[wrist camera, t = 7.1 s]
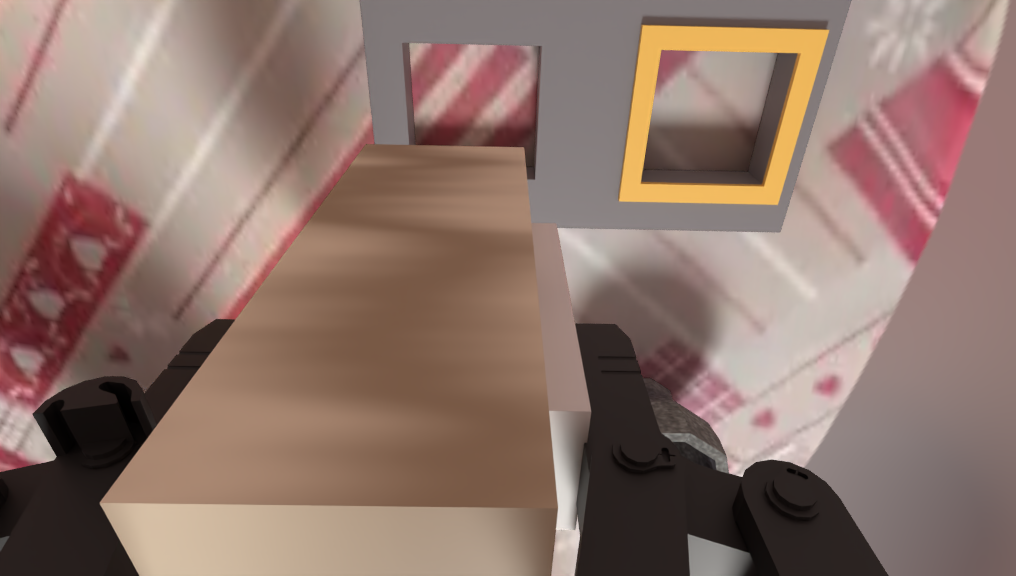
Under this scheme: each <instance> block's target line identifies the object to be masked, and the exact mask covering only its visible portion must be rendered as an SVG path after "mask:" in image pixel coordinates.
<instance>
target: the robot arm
mask: <svg viewBox="0 0 1016 576" xmlns="http://www.w3.org/2000/svg"><path fill="white" fill-rule="evenodd" d="M531 225H532V236H533V246H534V257H535V268H536V278H537V289H538V299H539V310H540V321H541V331H542V342H543V353H544V363H545V374H546V384H547V395H548V406H549V416H550V427H551V438H552V448H553V459H554V469H555V480H556V491H557V501H558V515H557V524H556V530H575V529H576V521H577V514H578V522H579V530H580V541H579V548H578V555H577V562H576V569H575V576H888V574H887V573H886V571H885V569H884V568H883V566H882V565H881V563H880V561H879V560H878V558H877V557H876V555H875V554H874V552H873V550H872V549H871V547H870V546H869V544H868V542H867V541H866V539H865V538H864V536H863V534H862V533H861V531H860V530H859V528H858V527H857V525H856V523H855V522H854V520H853V519H852V517H851V515H850V514H849V512H848V511H847V509H846V507H845V506H844V504H843V503H842V501H841V499H840V498H839V497H838V495H837V494H836V493H835V492H834V491H833V490H832V488H831V487H830V486H829V485H828V484H827V483H826V482H825V481H824V480H822V479H821V478H819V477H818V476H817V475H815V474H814V473H812V472H811V471H809V470H807V469H805V468H802V467H800V466H798V465H795V464H793V463H790V462H784V461H777V460H766V461H760V462H756V463H754V464H753V465H751V466H750V467H749V468H747V469H746V470H745V472H744V475H743V477H739V476H736V475H732V474H729V473H725V472H721V471H718V470H714V469H710V468H707V467H704V466H702V465H699V464H696V463H694V462H692V461H690V460H688V459H687V458H685V457H683V456H681V454H680V451H679V449H678V448H677V447H676V446H675V445H674V443H673V442H672V441H671V440H670V439H669V438H668V437H666V436H665V435H663V434H662V433H661V431H660V429H659V426H658V423H657V420H656V417H655V414H654V411H653V408H652V405H651V402H650V398H649V395H648V392H647V389H646V386H645V383H644V380H643V377H642V375H641V371H640V368H639V364H638V361H637V360H636V355H635V352H634V349H633V346H632V343H631V340H630V338H629V337H628V336H627V335H626V334H625V333H624V332H623V331H622V330H621V329H620V328H619V327H618V326H617V325H616V324H575V321H574V316H573V310H572V305H571V300H570V294H569V289H568V284H567V278H566V273H565V267H564V262H563V257H562V251H561V246H560V241H559V235H558V230H557V224H556V223H531ZM234 321H235V320H230V319H216V320H214V321H213V322H211V323H210V324H208V325H207V326H205V327H204V328H202V329H201V330H199V331H198V332H196V333H195V334H193V335H192V337H191V338H190V339H189V340H188V342H187V343H186V344H185V345H184V346H183V348H182V349H181V350H180V351H179V352H180V353H179V355H176V356H175V357H174V359H173V360H172V361H171V362H170V363H169V365H168V369H164V371H163V372H162V373H161V374H160V375H159V377H158V378H157V379H156V380H155V382H154V383H153V384H152V385H151V386H150V388H149V389H148V390H147V391H146V392H145V394H144V392H143V390H142V388H141V387H140V385H139V384H138V383H137V381H135V380H132V379H129V378H126V377H101V378H97V379H92V380H87V381H84V382H81V383H79V384H76V385H74V386H71V387H69V388H66V389H64V390H62V391H61V392H59V393H57V394H56V395H54V396H53V397H51V398H49V399H48V400H46V401H45V402H44V403H43V404H42V405H41V406H40V407H39V408H38V409H37V410H36V411H35V412H34V413H33V416H34V418H35V419H36V421H37V423H38V425H39V426H40V428H41V430H42V432H43V433H44V435H45V437H46V439H47V440H48V442H49V444H50V446H51V447H52V449H53V451H54V453H55V454H56V456H57V457H56V459H55V460H54V461H50V462H45V463H41V464H36V465H31V466H27V467H22V468H18V469H13V470H8V471H4V472H0V576H139V574H138V572H137V570H136V569H135V567H134V565H133V563H132V561H131V559H130V558H129V556H128V554H127V552H126V550H125V549H124V547H123V545H122V543H121V541H120V539H119V538H118V536H117V534H116V532H115V530H114V529H113V527H112V525H111V523H110V521H109V519H108V518H107V516H106V514H105V512H104V510H103V509H102V507H101V505H100V502H101V500H102V499H103V498H104V496H105V495H106V493H107V492H108V491H109V489H110V488H111V487H112V485H113V484H114V483H115V481H116V480H117V479H118V477H119V476H120V475H121V473H122V472H123V471H124V469H125V468H126V467H127V465H128V464H129V463H130V461H131V460H132V458H133V457H134V456H135V454H136V453H137V452H138V450H139V449H140V448H141V446H142V445H143V444H144V442H145V441H146V440H147V438H148V437H149V436H150V434H151V433H152V432H153V430H154V429H155V427H156V426H157V425H158V423H159V422H160V421H161V419H162V418H163V417H164V415H165V414H166V413H167V411H168V410H169V409H170V407H171V406H172V405H173V403H174V402H175V401H176V399H177V398H178V397H179V395H180V394H181V392H182V391H183V390H184V388H185V387H186V386H187V384H188V383H189V382H190V380H191V379H192V378H193V376H194V375H195V374H196V372H197V371H198V370H199V368H200V367H201V366H202V364H203V363H204V361H205V360H206V359H207V357H208V356H209V355H210V353H211V352H212V351H213V349H214V348H215V347H216V345H217V344H218V343H219V341H220V340H221V339H222V337H223V336H224V335H225V333H226V332H227V331H228V329H229V328H230V326H231V325H232V324H233V322H234Z"/></svg>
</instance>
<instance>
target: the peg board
mask: <svg viewBox="0 0 1016 576" xmlns="http://www.w3.org/2000/svg"><path fill="white" fill-rule="evenodd" d="M850 4H851V0H360V7H361V17H362V27H363V36H364V46H365V55H366V65H367V75H368V84H369V94H370V104H371V113H372V123H373V132H374V142H375V144H389V145H416V144H415V128H414V113H413V98H412V82H411V67H410V52H409V43H437V44H478V45H519V46H539V66H538V87H537V108H536V129H535V150H534V167H526V172H527V183H528V193H529V204H530V214H531V223H556V224H557V228H590V229H639V230H688V231H737V232H781V229H782V225H783V222H784V219H785V216H786V212H787V209H788V206H789V203H790V199H791V196H792V193H793V189H794V186H795V183H796V180H797V176H798V173H799V170H800V167H801V163H802V160H803V157H804V154H805V150H806V147H807V144H808V141H809V137H810V134H811V131H812V127H813V124H814V121H815V118H816V114H817V111H818V108H819V105H820V101H821V98H822V95H823V92H824V88H825V85H826V82H827V79H828V75H829V72H830V69H831V66H832V62H833V59H834V56H835V52H836V49H837V46H838V43H839V39H840V36H841V33H842V30H843V26H844V23H845V20H846V17H847V13H848V10H849V7H850ZM661 50H688V51H729V52H771V53H778V56H777V60H776V64H775V68H774V72H773V76H772V80H771V84H770V87H769V91H768V95H767V99H766V103H765V107H764V111H763V115H762V119H761V123H760V126H759V130H758V134H757V138H756V142H755V146H754V150H753V154H752V158H751V161H750V165H749V169H748V172H736V171H690V170H644V169H643V165H644V158H645V152H646V145H647V139H648V132H649V126H650V119H651V113H652V106H653V100H654V93H655V87H656V80H657V74H658V67H659V61H660V54H661Z"/></svg>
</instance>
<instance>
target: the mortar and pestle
mask: <svg viewBox="0 0 1016 576" xmlns="http://www.w3.org/2000/svg"><path fill="white" fill-rule="evenodd" d="M643 380H644V383H645V386H646V389H647V392H648V395H649V398H650V402H651V405H652V408H653V411H654V414H655V417H656V420H657V423H658V426H659V429H660V431H661V433H662V434H663V435H665V436H666V437H668V438H669V439H670V440H671V441H672V442H673V443H674V445H675V446H676V447H677V448H678V449H679V451H680V454H681V456H683V457H685V458H687V459H688V460H690V461H692V462H694V463H696V464H699V465H702V466H704V467H707V468H710V469H714V470H718V471H721V472H725V473H729V470H728V463H727V457H726V454H725V451H724V449H723V447H722V444H721V442H720V440H719V438H718V437H717V435H716V434H715V432H714V431H713V429H712V428H711V427H710V425H709V424H708V422H706V421H705V420H703V419H701V418H700V417H698V416H697V415H695V414H694V413H692V412H691V411H689V410H688V409H686V408H685V407H683V406H681V405H680V404H678V403H677V402H675V401H674V400H673V399H672V396H671V392H670V390H668V389H667V388H665V387H664V386H662V385H660V384H659V383H657V382H656V381H654V380H653V379H651V378H643Z"/></svg>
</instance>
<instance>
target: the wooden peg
mask: <svg viewBox="0 0 1016 576" xmlns="http://www.w3.org/2000/svg"><path fill="white" fill-rule="evenodd" d="M100 505H101V507H102V509H103V510H104V512H105V514H106V516H107V518H108V519H109V521H110V523H111V525H112V527H113V529H114V530H115V532H116V534H117V536H118V538H119V539H120V541H121V543H122V545H123V547H124V549H125V550H126V552H127V554H128V556H129V558H130V559H131V561H132V563H133V565H134V567H135V569H136V570H137V572H138V574H139V576H551V571H552V562H553V552H554V543H555V534H556V524H557V515H558V501H557V491H556V480H555V469H554V459H553V448H552V438H551V427H550V416H549V406H548V395H547V384H546V374H545V363H544V353H543V342H542V331H541V321H540V310H539V299H538V289H537V278H536V268H535V257H534V246H533V236H532V225H531V214H530V204H529V193H528V183H527V172H526V161H525V151H524V147H484V146H436V145H389V144H366V145H365V146H364V147H363V149H362V150H361V151H360V153H359V154H358V155H357V157H356V158H355V159H354V161H353V162H352V163H351V165H350V166H349V168H348V169H347V170H346V172H345V173H344V174H343V176H342V177H341V178H340V180H339V181H338V182H337V184H336V185H335V186H334V188H333V189H332V190H331V192H330V193H329V194H328V196H327V197H326V199H325V200H324V201H323V203H322V204H321V205H320V207H319V208H318V209H317V211H316V212H315V213H314V215H313V216H312V217H311V219H310V220H309V221H308V223H307V224H306V225H305V227H304V228H303V229H302V231H301V232H300V234H299V235H298V236H297V238H296V239H295V240H294V242H293V243H292V244H291V246H290V247H289V248H288V250H287V251H286V252H285V254H284V255H283V256H282V258H281V259H280V260H279V262H278V263H277V265H276V266H275V267H274V269H273V270H272V271H271V273H270V274H269V275H268V277H267V278H266V279H265V281H264V282H263V283H262V285H261V286H260V287H259V289H258V290H257V291H256V293H255V294H254V295H253V297H252V298H251V300H250V301H249V302H248V304H247V305H246V306H245V308H244V309H243V310H242V312H241V313H240V314H239V316H238V317H237V318H236V320H235V321H234V322H233V324H232V325H231V326H230V328H229V329H228V331H227V332H226V333H225V335H224V336H223V337H222V339H221V340H220V341H219V343H218V344H217V345H216V347H215V348H214V349H213V351H212V352H211V353H210V355H209V356H208V357H207V359H206V360H205V361H204V363H203V364H202V366H201V367H200V368H199V370H198V371H197V372H196V374H195V375H194V376H193V378H192V379H191V380H190V382H189V383H188V384H187V386H186V387H185V388H184V390H183V391H182V392H181V394H180V395H179V397H178V398H177V399H176V401H175V402H174V403H173V405H172V406H171V407H170V409H169V410H168V411H167V413H166V414H165V415H164V417H163V418H162V419H161V421H160V422H159V423H158V425H157V426H156V427H155V429H154V430H153V432H152V433H151V434H150V436H149V437H148V438H147V440H146V441H145V442H144V444H143V445H142V446H141V448H140V449H139V450H138V452H137V453H136V454H135V456H134V457H133V458H132V460H131V461H130V463H129V464H128V465H127V467H126V468H125V469H124V471H123V472H122V473H121V475H120V476H119V477H118V479H117V480H116V481H115V483H114V484H113V485H112V487H111V488H110V489H109V491H108V492H107V493H106V495H105V496H104V498H103V499H102V500H101V502H100Z"/></svg>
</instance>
